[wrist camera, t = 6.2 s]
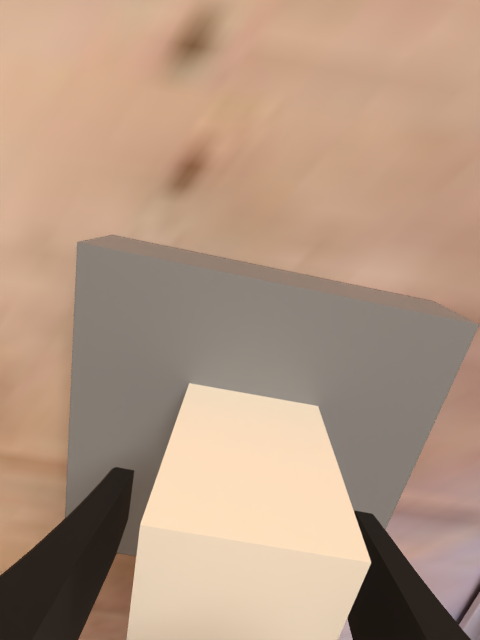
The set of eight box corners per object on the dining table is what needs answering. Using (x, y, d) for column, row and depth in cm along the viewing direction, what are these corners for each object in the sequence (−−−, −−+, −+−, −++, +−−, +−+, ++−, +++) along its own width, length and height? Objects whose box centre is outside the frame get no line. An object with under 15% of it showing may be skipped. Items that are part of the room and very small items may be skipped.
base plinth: (339, 536, 19) (355, 594, 16) (92, 492, 18) (64, 543, 16) (434, 301, 15) (479, 324, 12) (112, 235, 14) (77, 242, 11)
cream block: (288, 504, 14) (312, 696, 9) (173, 485, 14) (123, 668, 9) (317, 406, 13) (371, 562, 7) (189, 383, 13) (140, 524, 7)
